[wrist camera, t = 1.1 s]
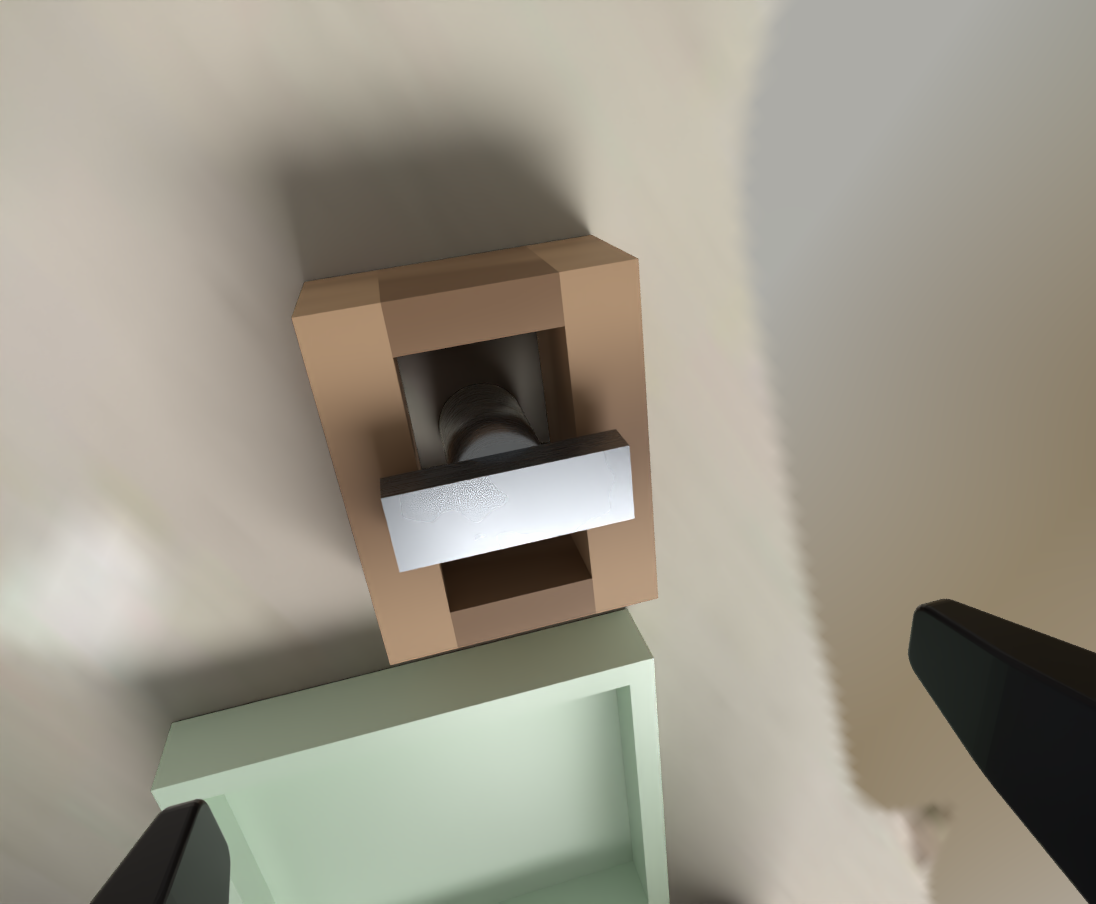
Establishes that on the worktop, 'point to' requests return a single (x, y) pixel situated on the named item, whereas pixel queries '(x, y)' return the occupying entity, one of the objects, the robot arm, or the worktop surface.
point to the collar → (572, 411)
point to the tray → (444, 778)
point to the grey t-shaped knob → (503, 484)
